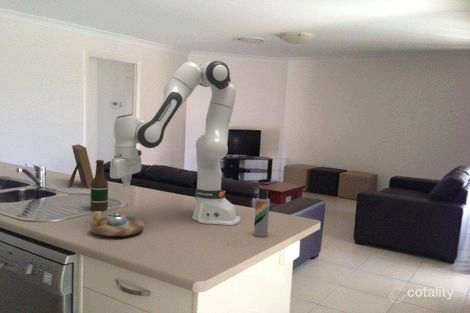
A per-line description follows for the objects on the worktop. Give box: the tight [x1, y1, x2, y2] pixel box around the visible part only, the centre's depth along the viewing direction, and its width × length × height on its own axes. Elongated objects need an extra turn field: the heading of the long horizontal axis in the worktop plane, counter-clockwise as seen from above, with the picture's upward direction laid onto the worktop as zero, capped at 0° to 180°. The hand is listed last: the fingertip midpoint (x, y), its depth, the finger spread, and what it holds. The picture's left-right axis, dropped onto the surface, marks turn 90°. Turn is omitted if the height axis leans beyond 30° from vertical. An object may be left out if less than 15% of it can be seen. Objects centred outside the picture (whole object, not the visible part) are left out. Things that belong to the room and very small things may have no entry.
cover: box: [106, 212, 127, 226], centre depth 154 cm, size 7×7×4 cm
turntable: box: [90, 211, 145, 237], centre depth 154 cm, size 20×20×7 cm
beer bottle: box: [90, 159, 109, 212], centre depth 186 cm, size 8×8×24 cm
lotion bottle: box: [253, 186, 271, 238], centre depth 160 cm, size 6×6×20 cm
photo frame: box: [67, 143, 94, 189], centre depth 242 cm, size 15×22×25 cm
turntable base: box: [101, 234, 133, 238], centre depth 155 cm, size 14×14×1 cm
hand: (126, 185), depth 166 cm, fingers closed
